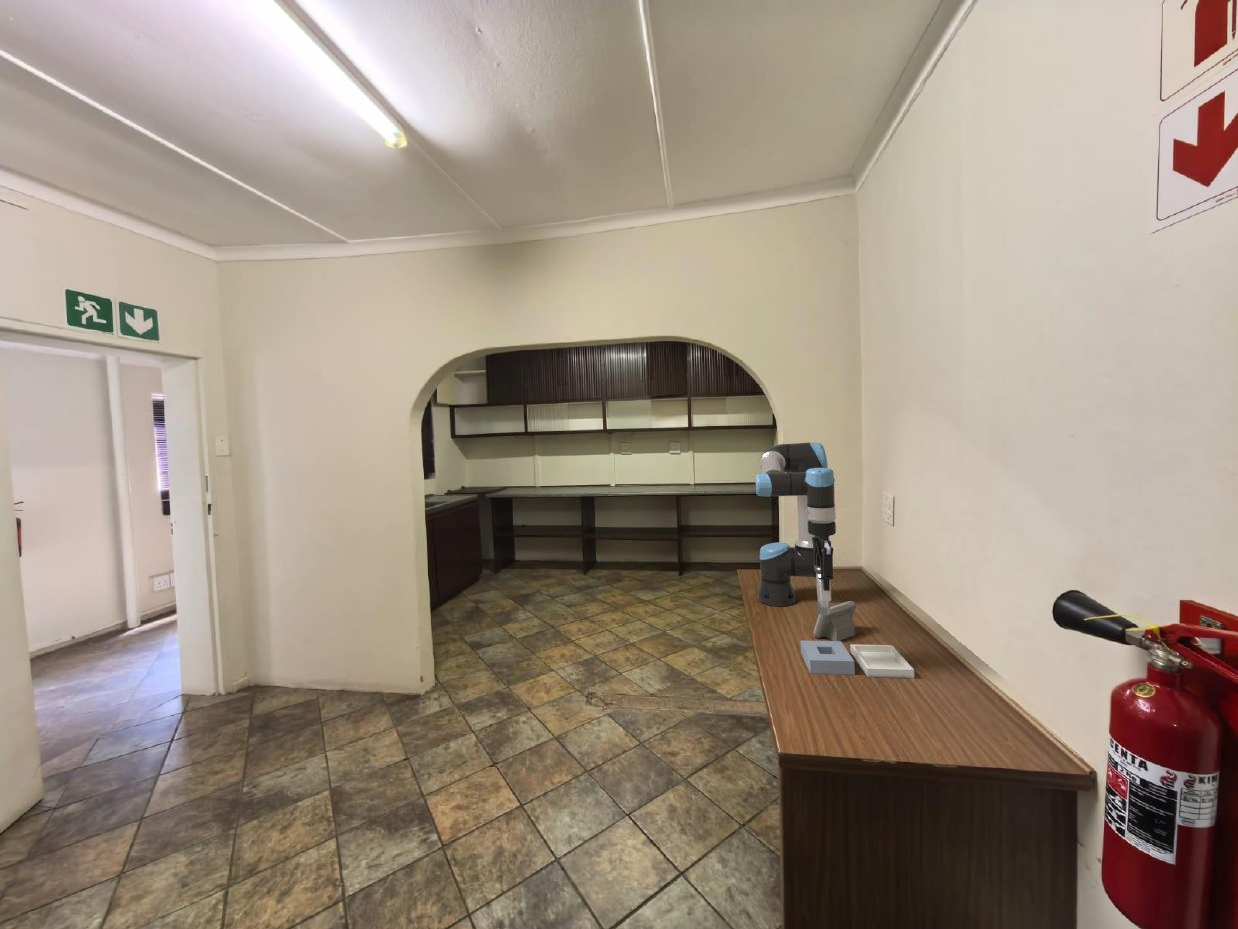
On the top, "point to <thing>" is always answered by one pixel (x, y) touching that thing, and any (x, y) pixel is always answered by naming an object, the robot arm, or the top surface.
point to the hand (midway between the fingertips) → (824, 597)
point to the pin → (822, 605)
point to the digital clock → (836, 622)
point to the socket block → (827, 657)
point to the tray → (881, 661)
